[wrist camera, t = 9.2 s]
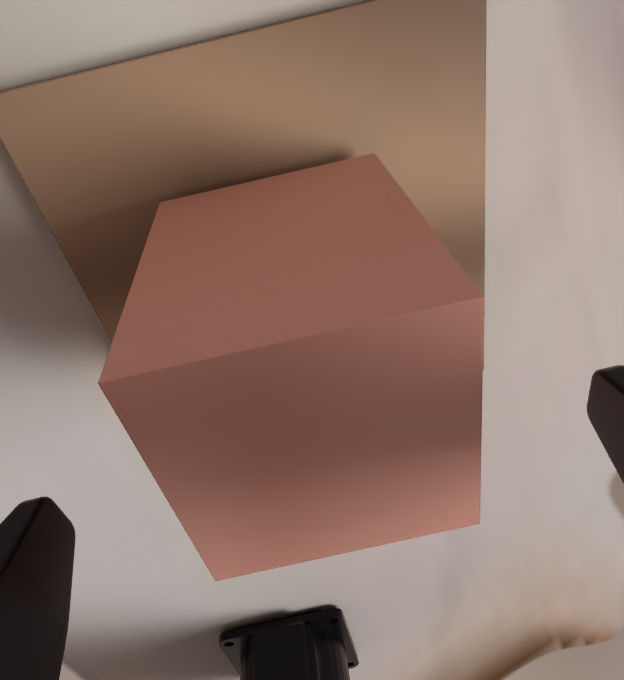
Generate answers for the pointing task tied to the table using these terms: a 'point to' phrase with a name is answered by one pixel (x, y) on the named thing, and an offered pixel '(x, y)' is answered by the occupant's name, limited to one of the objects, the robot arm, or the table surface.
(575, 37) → the table surface
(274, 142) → the taupe inverted t block
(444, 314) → the pink rectangular block
